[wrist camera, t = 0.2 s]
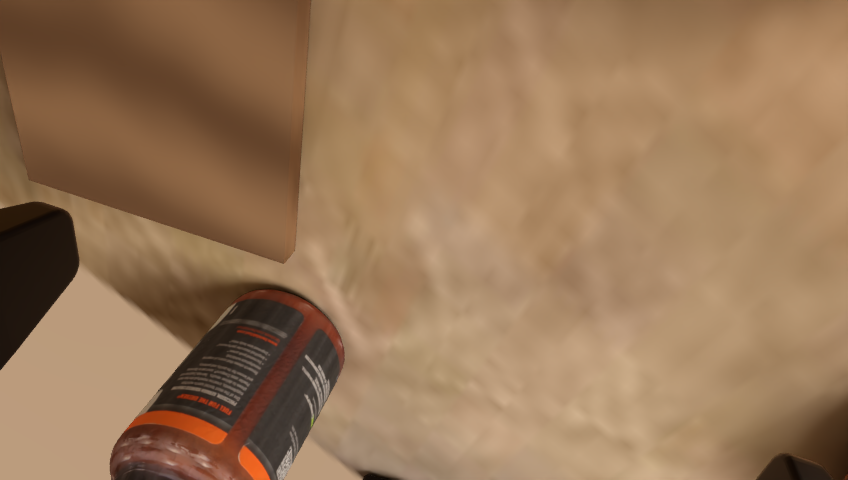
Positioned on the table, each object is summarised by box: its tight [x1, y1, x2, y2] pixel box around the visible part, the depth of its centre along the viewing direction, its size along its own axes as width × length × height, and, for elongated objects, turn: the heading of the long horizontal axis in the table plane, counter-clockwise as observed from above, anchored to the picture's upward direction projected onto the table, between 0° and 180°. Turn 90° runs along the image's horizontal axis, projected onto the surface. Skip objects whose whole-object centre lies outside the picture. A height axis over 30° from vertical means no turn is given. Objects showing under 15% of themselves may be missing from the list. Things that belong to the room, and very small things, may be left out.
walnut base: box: [0, 0, 311, 264], centre depth 24 cm, size 12×12×1 cm
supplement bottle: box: [110, 289, 344, 480], centre depth 25 cm, size 6×6×11 cm
